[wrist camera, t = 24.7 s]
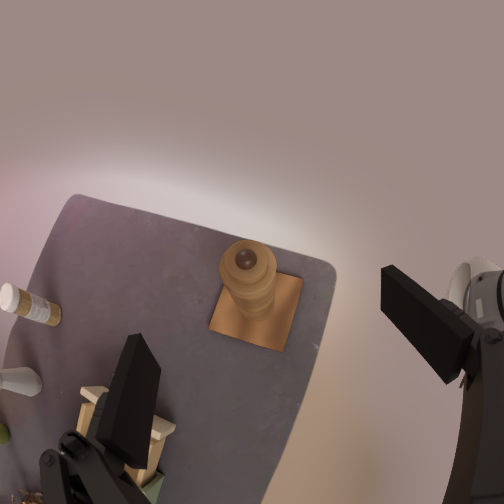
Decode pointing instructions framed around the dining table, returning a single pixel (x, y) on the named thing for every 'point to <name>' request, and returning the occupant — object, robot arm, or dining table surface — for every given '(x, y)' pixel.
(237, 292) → the pepper mill
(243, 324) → the square wooden board
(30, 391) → the salt shaker
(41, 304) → the spice jar
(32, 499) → the food dish
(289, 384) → the dining table surface
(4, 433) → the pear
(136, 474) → the drawer
